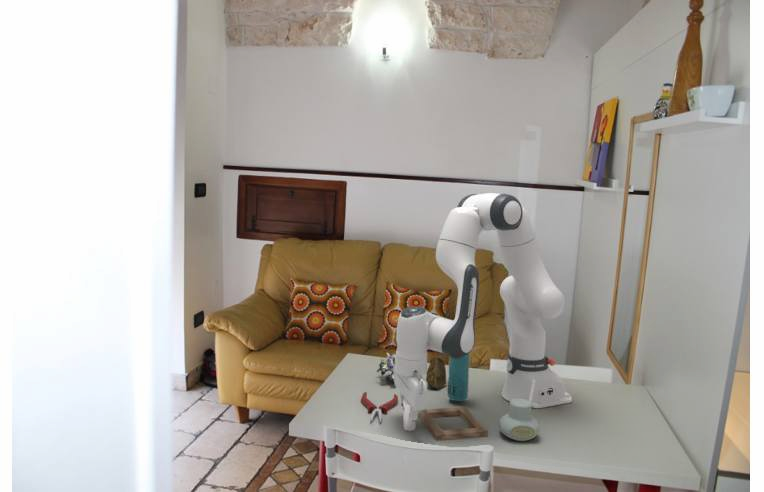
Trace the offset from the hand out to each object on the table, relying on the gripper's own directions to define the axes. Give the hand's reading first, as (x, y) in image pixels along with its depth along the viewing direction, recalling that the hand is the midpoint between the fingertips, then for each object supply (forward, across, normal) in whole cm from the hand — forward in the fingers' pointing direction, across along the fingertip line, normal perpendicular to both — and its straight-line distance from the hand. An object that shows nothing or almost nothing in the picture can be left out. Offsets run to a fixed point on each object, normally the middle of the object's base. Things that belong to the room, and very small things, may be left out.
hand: (408, 412), depth 173 cm
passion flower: (+5, +37, -5) cm, 38 cm away
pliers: (+5, +15, +6) cm, 17 cm away
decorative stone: (+5, +30, -19) cm, 36 cm away
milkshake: (+5, 0, 0) cm, 5 cm away
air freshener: (+5, -10, -29) cm, 31 cm away
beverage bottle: (+5, +16, -21) cm, 27 cm away
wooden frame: (+5, 0, -13) cm, 14 cm away
